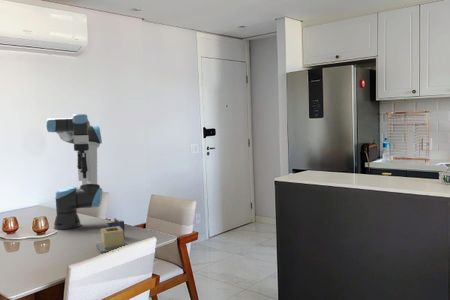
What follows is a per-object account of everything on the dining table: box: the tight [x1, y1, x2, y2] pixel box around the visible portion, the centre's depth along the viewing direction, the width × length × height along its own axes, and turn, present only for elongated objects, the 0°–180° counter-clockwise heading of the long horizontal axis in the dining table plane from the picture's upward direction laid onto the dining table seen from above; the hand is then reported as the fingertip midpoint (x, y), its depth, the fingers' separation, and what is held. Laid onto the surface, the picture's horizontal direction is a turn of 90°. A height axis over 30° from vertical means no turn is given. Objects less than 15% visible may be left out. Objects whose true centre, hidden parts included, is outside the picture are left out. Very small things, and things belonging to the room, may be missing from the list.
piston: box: [95, 240, 129, 254], centre depth 210 cm, size 14×14×6 cm
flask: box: [106, 217, 125, 237], centre depth 227 cm, size 9×3×11 cm, turn 109°
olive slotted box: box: [100, 226, 125, 249], centre depth 210 cm, size 10×10×8 cm
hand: (82, 182), depth 224 cm, fingers open, 13 cm apart
